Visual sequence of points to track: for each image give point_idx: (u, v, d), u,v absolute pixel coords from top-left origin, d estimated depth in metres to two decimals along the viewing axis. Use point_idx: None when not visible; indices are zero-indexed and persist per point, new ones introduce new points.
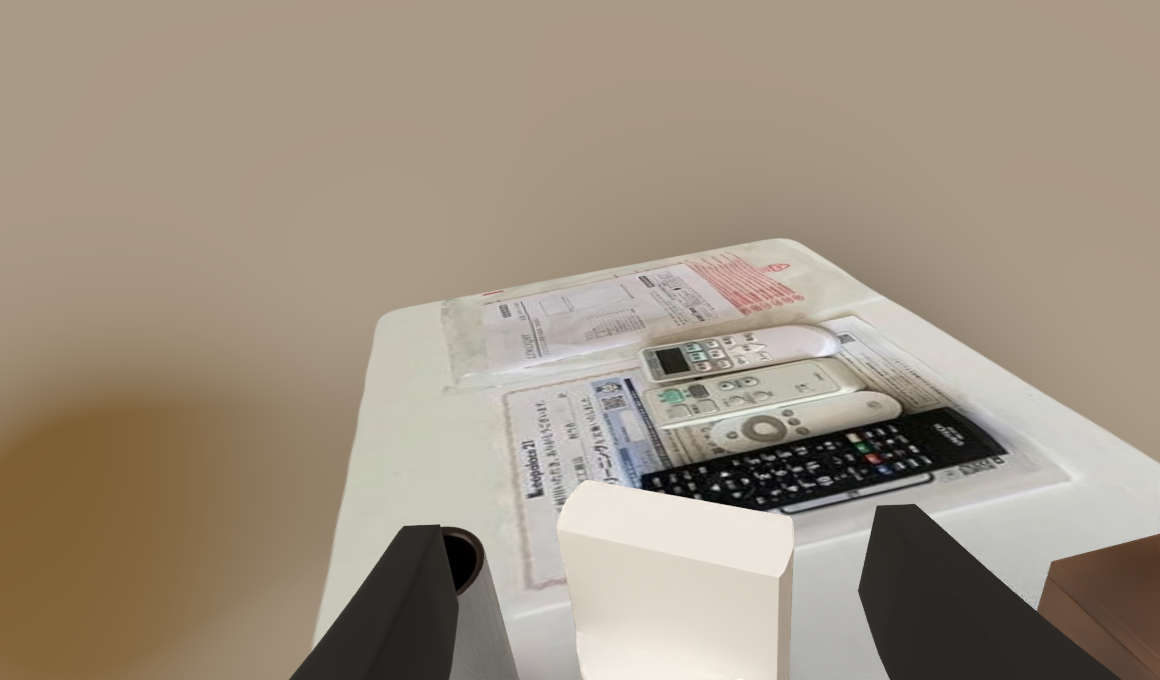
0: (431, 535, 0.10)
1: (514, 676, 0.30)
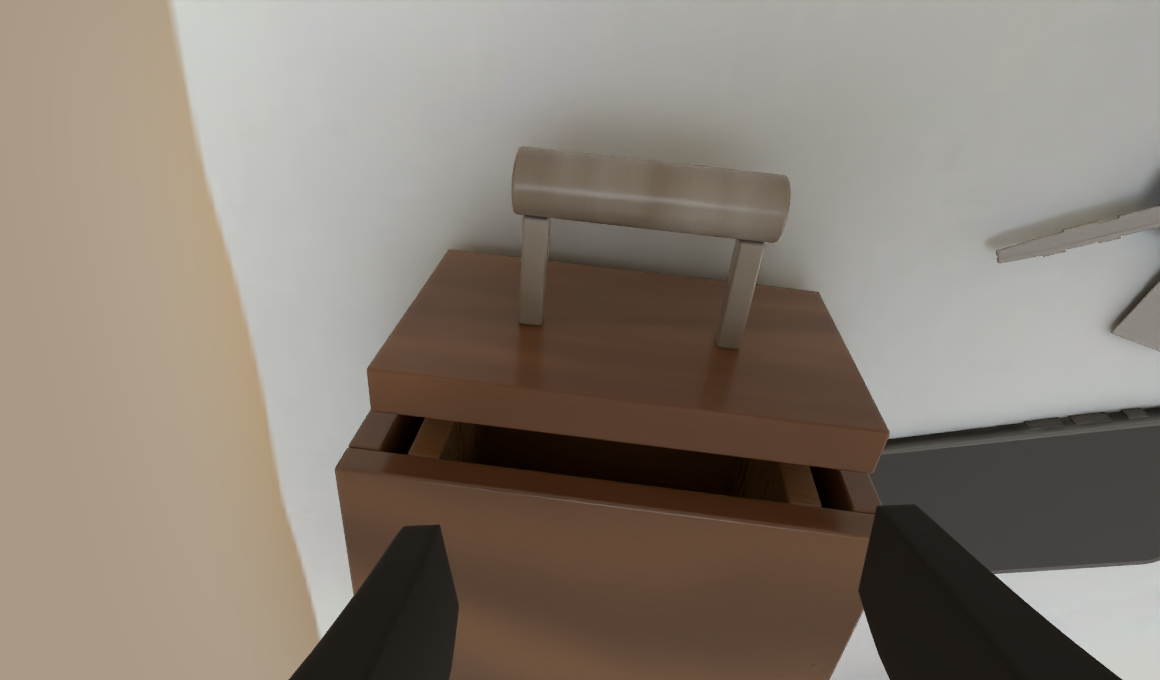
0: (431, 535, 0.10)
1: None
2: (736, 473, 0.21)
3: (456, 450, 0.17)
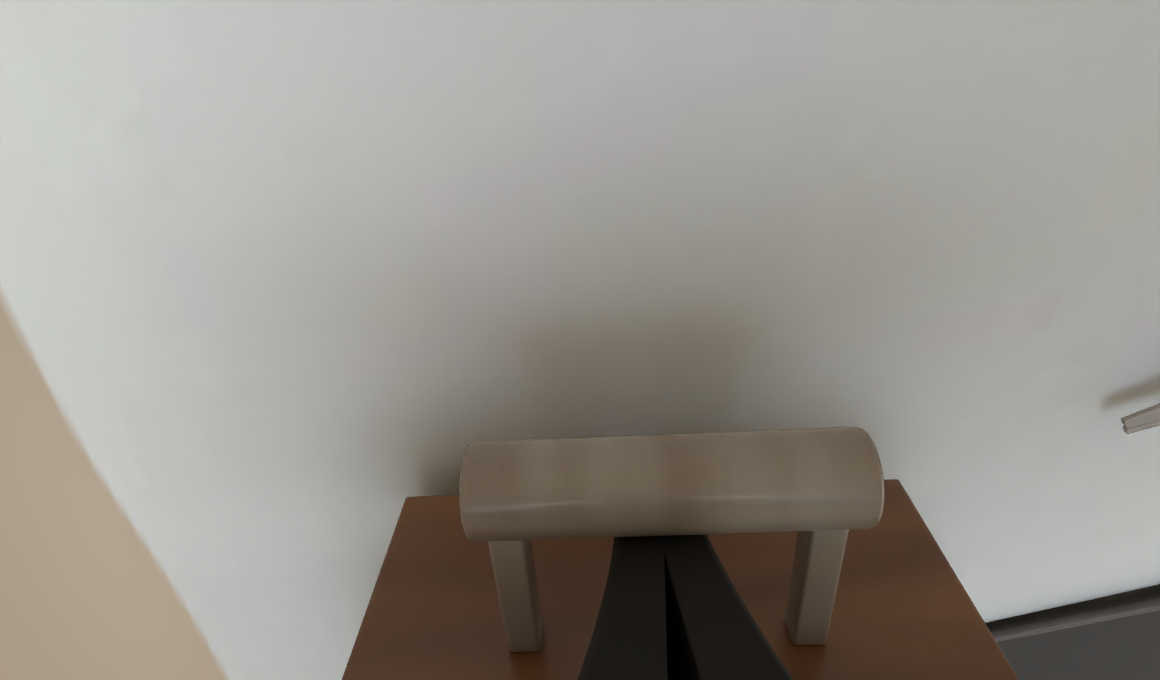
0: None
1: None
2: None
3: None
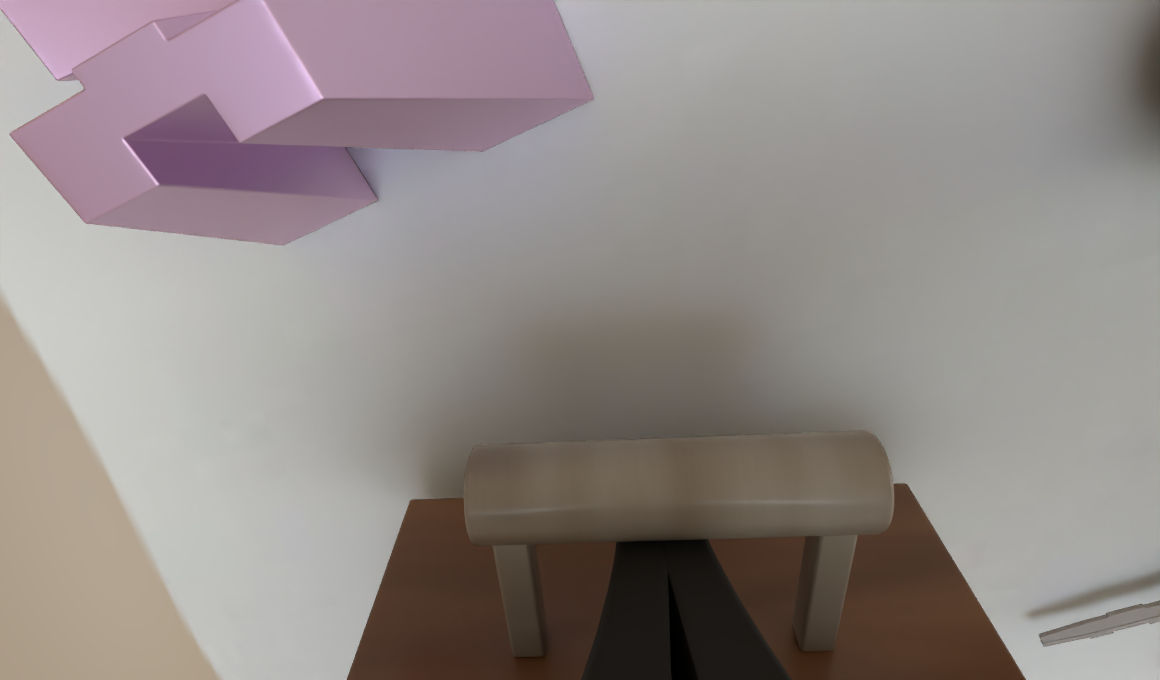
0: None
1: None
2: None
3: None
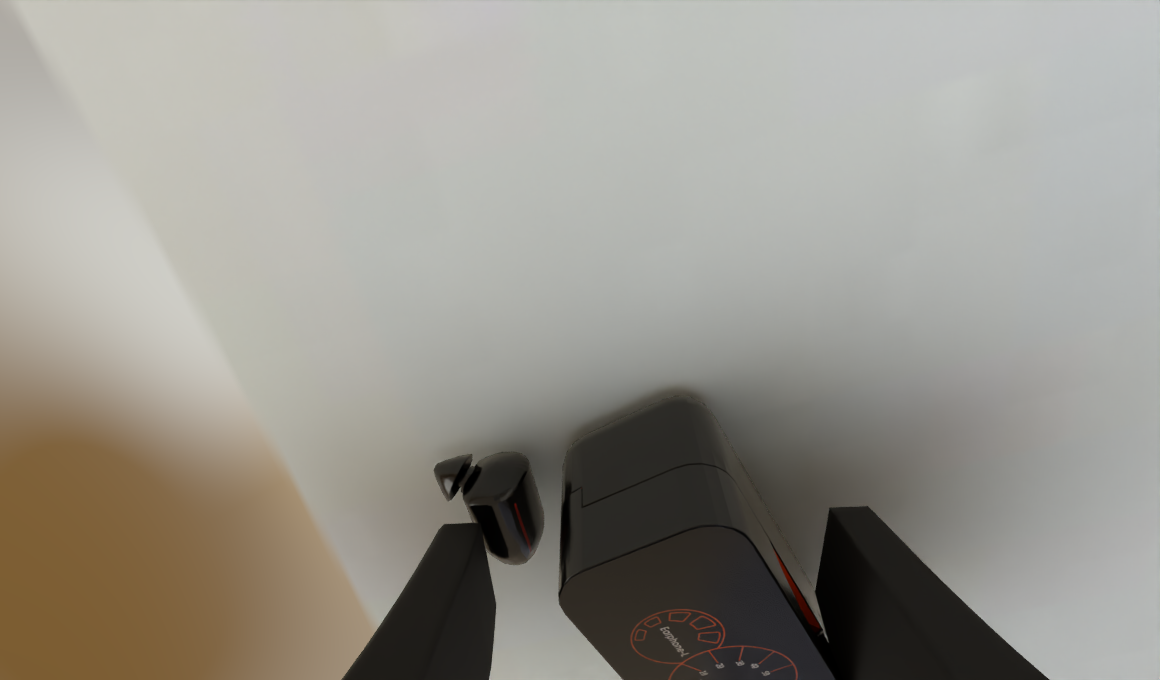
0: (473, 533, 0.10)
1: None
2: None
3: None
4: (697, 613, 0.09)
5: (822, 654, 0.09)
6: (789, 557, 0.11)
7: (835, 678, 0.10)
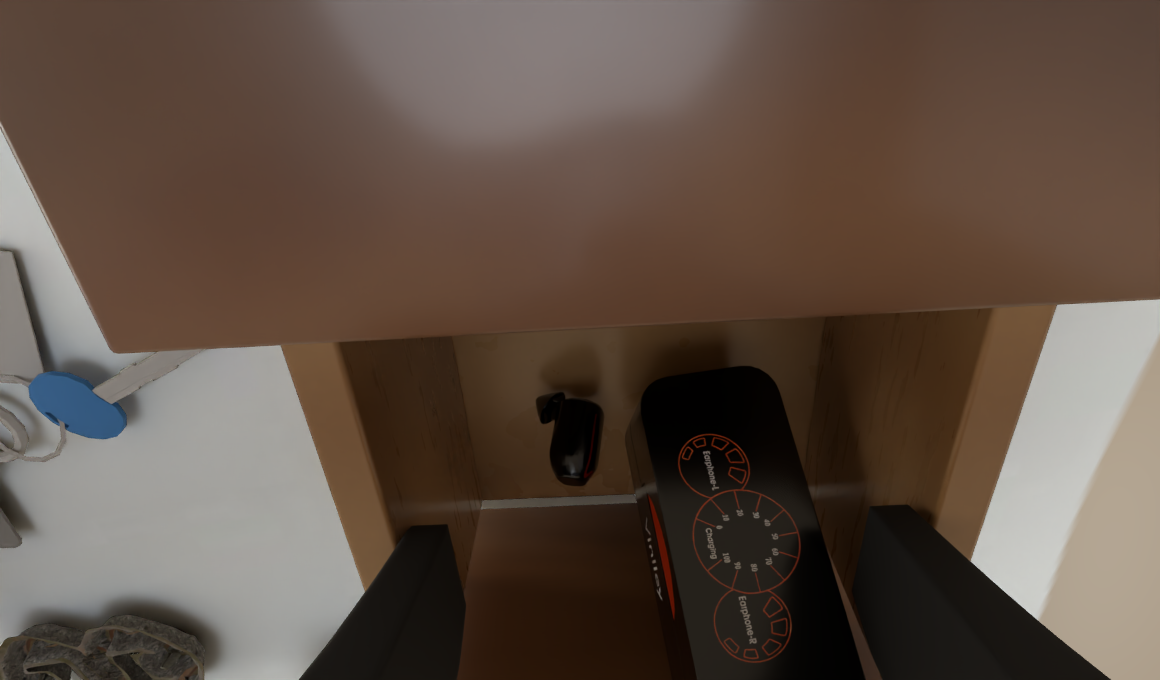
0: (439, 535, 0.10)
1: None
2: (457, 418, 0.15)
3: None
4: (733, 444, 0.12)
5: (820, 532, 0.12)
6: None
7: None
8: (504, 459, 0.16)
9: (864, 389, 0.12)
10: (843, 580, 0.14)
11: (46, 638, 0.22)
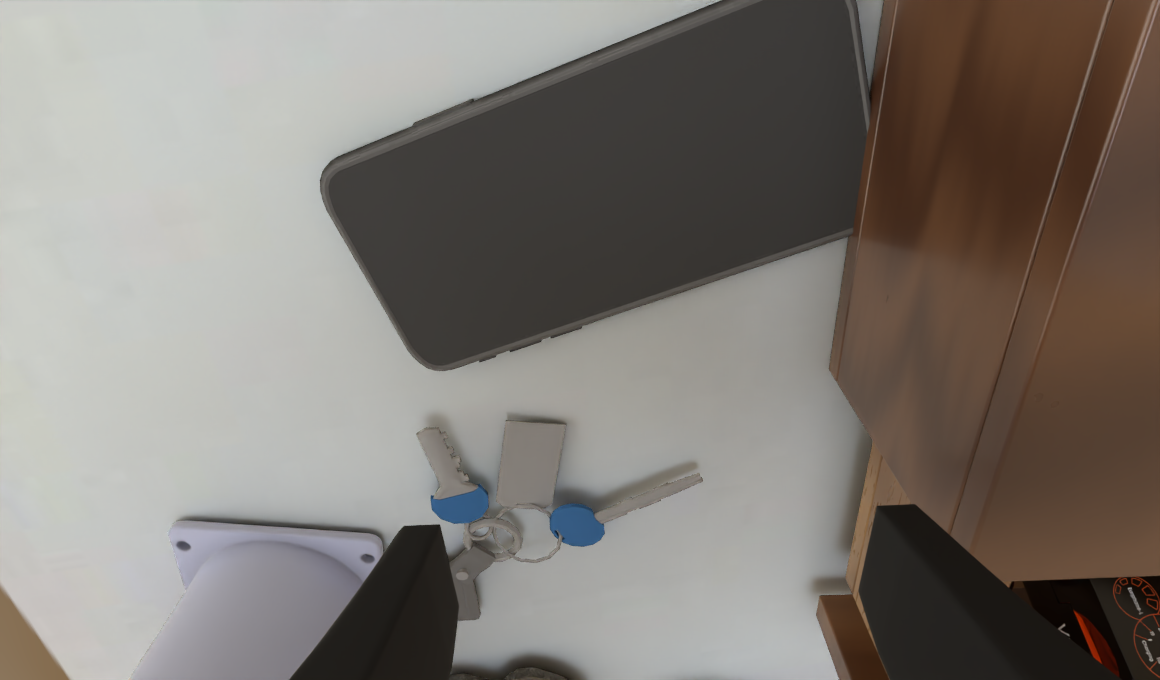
0: (431, 535, 0.10)
1: None
2: None
3: None
4: (1145, 582, 0.19)
5: None
6: None
7: None
8: None
9: None
10: None
11: None
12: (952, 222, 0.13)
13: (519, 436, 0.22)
